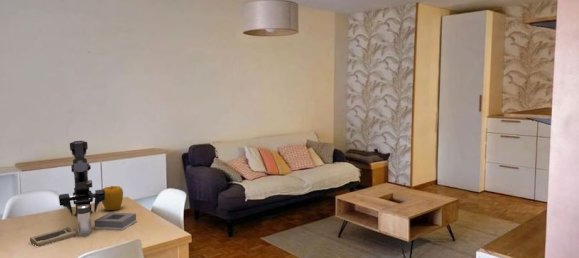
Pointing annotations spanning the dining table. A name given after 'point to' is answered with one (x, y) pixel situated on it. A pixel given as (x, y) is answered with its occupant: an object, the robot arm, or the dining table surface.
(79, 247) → the dining table surface
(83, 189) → the robot arm
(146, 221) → the dining table surface
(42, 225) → the dining table surface
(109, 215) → the square plate with hole
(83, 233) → the shiny metal cylinder
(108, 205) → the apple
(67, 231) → the computer
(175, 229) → the dining table surface
